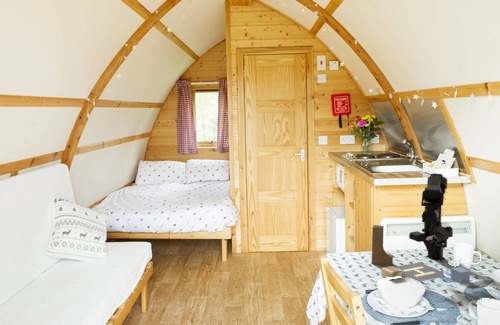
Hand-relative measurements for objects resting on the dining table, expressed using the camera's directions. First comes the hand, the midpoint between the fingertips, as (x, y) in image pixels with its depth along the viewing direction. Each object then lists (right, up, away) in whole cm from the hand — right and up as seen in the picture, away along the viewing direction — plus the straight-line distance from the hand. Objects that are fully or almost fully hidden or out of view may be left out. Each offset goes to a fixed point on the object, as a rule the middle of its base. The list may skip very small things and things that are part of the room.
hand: (430, 254), depth 186 cm
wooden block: (-15, -9, +19) cm, 26 cm away
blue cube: (+12, -11, -2) cm, 16 cm away
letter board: (-2, -10, +9) cm, 13 cm away
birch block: (-16, -11, +3) cm, 19 cm away
